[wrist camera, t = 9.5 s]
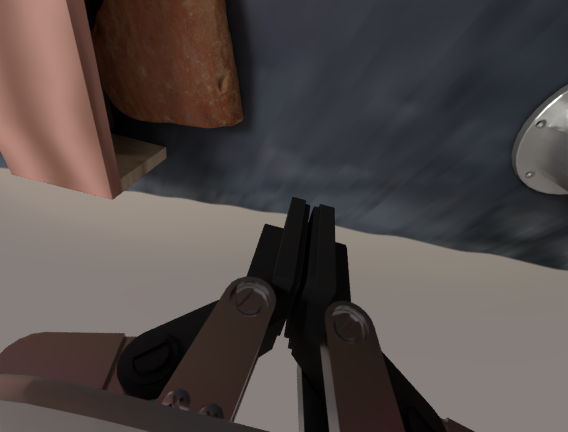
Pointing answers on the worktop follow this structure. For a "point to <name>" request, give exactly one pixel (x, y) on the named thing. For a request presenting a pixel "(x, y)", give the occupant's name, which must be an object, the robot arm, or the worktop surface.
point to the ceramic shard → (168, 61)
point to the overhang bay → (61, 103)
